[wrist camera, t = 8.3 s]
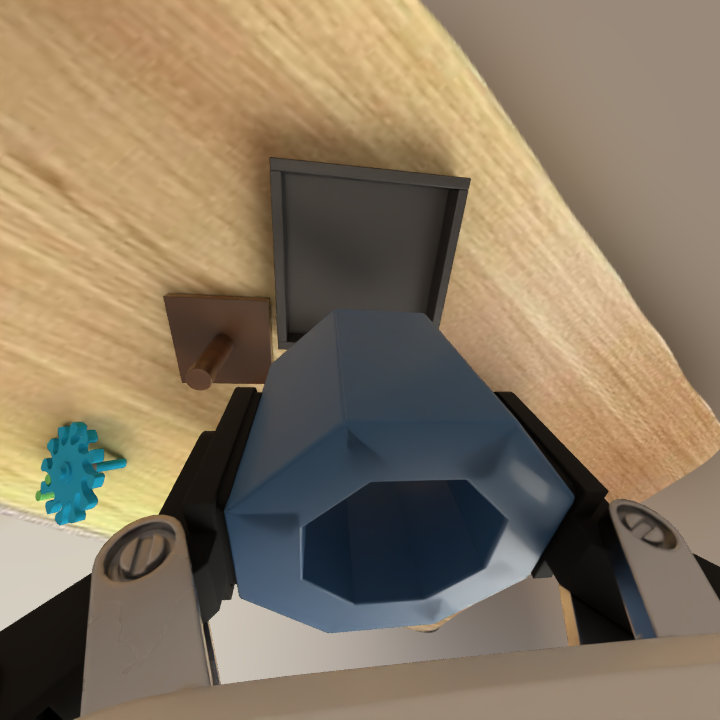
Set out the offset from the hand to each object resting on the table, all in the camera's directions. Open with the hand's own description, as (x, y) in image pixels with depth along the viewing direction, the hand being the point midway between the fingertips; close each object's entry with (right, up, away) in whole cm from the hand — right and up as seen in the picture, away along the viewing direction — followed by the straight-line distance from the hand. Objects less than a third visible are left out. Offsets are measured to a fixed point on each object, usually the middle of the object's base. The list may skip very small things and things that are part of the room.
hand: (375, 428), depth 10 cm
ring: (0, +1, +1) cm, 2 cm away
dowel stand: (-14, +4, +21) cm, 25 cm away
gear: (-31, -8, +25) cm, 40 cm away
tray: (0, +11, +19) cm, 22 cm away
